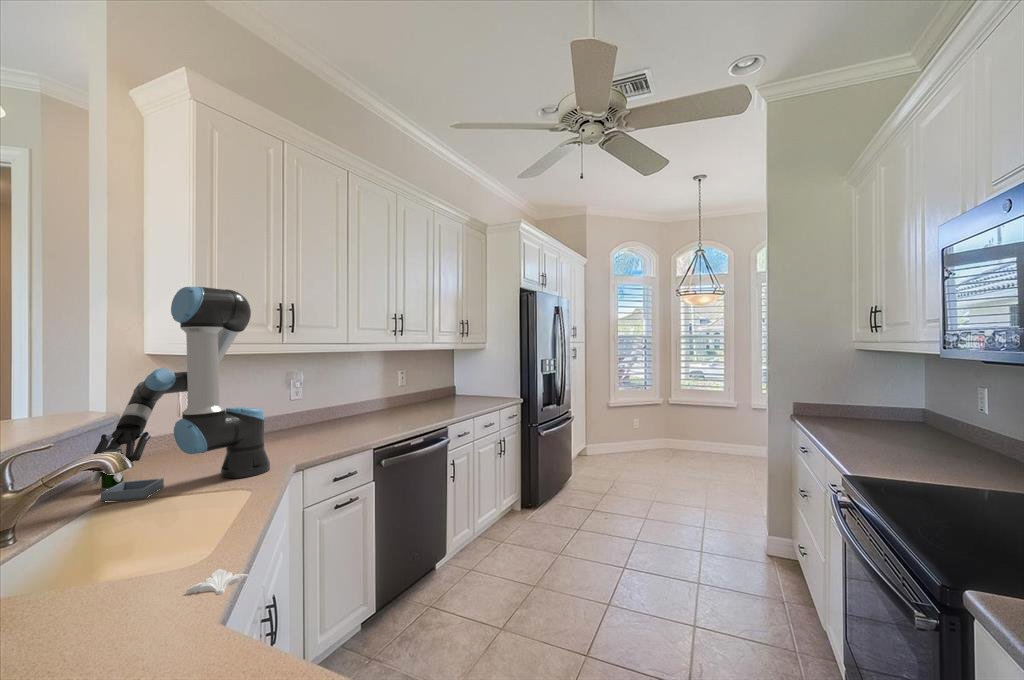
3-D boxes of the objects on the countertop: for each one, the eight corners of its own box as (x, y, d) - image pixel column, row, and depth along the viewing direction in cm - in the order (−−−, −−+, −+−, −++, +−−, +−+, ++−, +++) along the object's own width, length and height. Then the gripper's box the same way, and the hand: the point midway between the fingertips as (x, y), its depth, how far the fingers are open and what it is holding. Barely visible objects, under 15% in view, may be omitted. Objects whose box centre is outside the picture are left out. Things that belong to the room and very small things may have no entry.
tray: (163, 487, 144) (163, 478, 144) (144, 499, 133) (144, 489, 133) (123, 490, 141) (123, 481, 141) (100, 503, 130) (100, 492, 130)
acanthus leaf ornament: (185, 597, 82) (185, 587, 82) (213, 577, 89) (213, 568, 89) (224, 598, 82) (224, 587, 82) (249, 578, 89) (249, 568, 89)
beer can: (99, 491, 141) (99, 453, 141) (103, 487, 145) (102, 450, 145) (122, 488, 144) (121, 451, 144) (125, 483, 148) (124, 447, 148)
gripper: (168, 424, 162) (144, 483, 146) (107, 427, 157) (76, 489, 141) (160, 412, 157) (134, 472, 141) (97, 415, 152) (63, 477, 136)
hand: (105, 480), depth 141 cm, fingers closed on beer can, 5 cm apart
